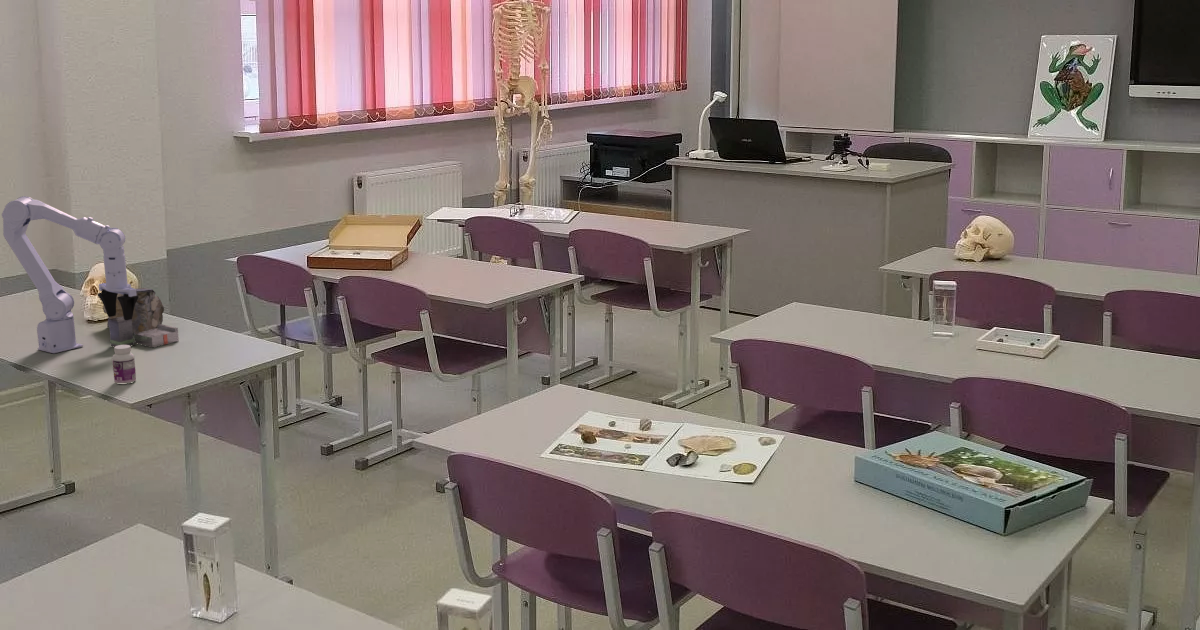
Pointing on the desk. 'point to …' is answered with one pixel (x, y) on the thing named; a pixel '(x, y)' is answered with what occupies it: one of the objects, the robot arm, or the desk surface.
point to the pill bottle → (123, 364)
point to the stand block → (157, 336)
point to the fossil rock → (143, 311)
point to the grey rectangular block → (121, 331)
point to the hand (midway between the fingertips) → (120, 317)
